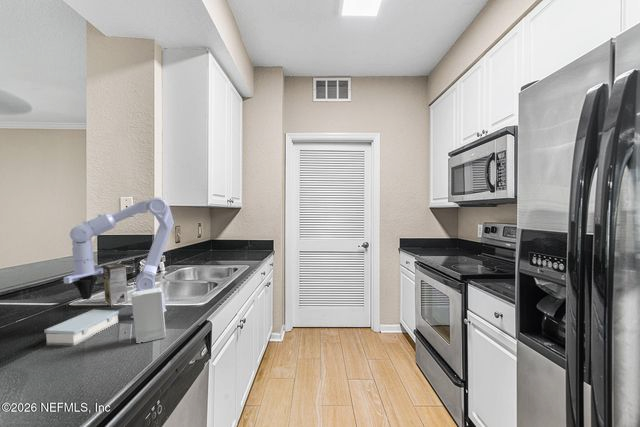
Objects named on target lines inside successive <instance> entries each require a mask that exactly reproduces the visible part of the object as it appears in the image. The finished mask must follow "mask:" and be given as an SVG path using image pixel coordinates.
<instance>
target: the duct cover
mask: <svg viewBox="0 0 640 427" xmlns="http://www.w3.org/2000/svg"><path fill="white" fill-rule="evenodd" d="M116 314H118V315H119V314H120V311H119V310H111V309H109V310H108V309H91V310H89V311H87V312H84V313H81V314H78V315H76V316H74V317H72V318H69V319H67V320H64V321H63V322H62V321H61V322H60V323H57V324H55V325H53V326H49V327H47V328H46V329H44V334H47V333H59V334H76V333H78V332H80V331H82V330H84V329H86V328H89V327H91V326H93V325H95V324H97V323H99V322H101V321H103V320H105V319H107V318H109V317H111V316H114V315H116Z"/></svg>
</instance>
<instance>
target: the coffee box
mask: <svg viewBox="0 0 640 427" xmlns="http://www.w3.org/2000/svg"><path fill="white" fill-rule="evenodd" d="M102 268H103V273H102V276H103V286H104V290H103V291H104V300H105V301H106V302H107V303H109V304H110V305H111V307H113V306H112V305H114V304H118V303H122V302H129V301H128V284H127V268H126V265H124V264H122V263H112V264H110V263H109V264H105V265H104V264H103V265H102ZM106 302H105V303H106ZM107 303H106V304H107ZM109 304H108V305H109ZM110 305H109V306H110Z"/></svg>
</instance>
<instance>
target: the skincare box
mask: <svg viewBox="0 0 640 427" xmlns="http://www.w3.org/2000/svg"><path fill="white" fill-rule="evenodd" d="M162 290H163V289H162V287H161V286H159V287H156V288H152V289H147V290H140V291H136V290H135V291H132V294H131V297H130V298H131V307H132V316H133V317H134V318H133V323H134V333H135V334H134V335H135V341H136V343H139V344H142V343H141V342H143V343H146V342H151V341H156V340H160V339H165V338H166V337H167V336H166V334H167V333H166V332H167V331H166V323H165V312H164V310H163V298H162V292H163V291H162Z"/></svg>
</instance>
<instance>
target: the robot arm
mask: <svg viewBox="0 0 640 427" xmlns="http://www.w3.org/2000/svg"><path fill="white" fill-rule="evenodd" d="M148 211H149V212H150V213H151V214H152V215H153V216H154V217H155V218H156V220H157V221H158V223H159V224H158V228H157V230H156V233H155V236H154V239H153V241H152V245H151V247H150V249H149V251H148V254H147V257H146V259H145V263H144V264H143V267H142V269H141V271H140V272H139V273H138V274H137V275H136V278H135V291H140V290H147V289H152V288H157V287H156V280H155V278H156V276H157V272H158V267H159V265H160V262H161V259H162V256H163V254H164V251H165V248H166V246H167V243H168V241H169V237H170V236H171V233H172V230H173V228H174V225H175V222H174V218H173V215H172V211H171V208H170V205H169V204H168V203H167V201H166V200H165V199H164V198H162V197H158V196H156V197H153V198H150V199H148V200H143V201H139V202H137V203H134V204H132V205H130V206H128V207H126V208H123V209H122V210H120V211H119V210H118V212H115V213H113V214H109V213H104V214H103V213H99V214H97V215H96V216H97V217H94V218H92V219H90V220H88V221H87V220H84V221H83V222H82V224H79V225H76V226H74V227H73V228H71V230H70V232H69V237H70V239H71V240H72V243H71V244H72V249H71V250H72V262H73V272H72V273H71V274H70V275H68V276H64V277H63V284H71V283H72V284H73V285H74V286H75V287H76V289H77V290H78V292H79V294H80V296H81V299H82V300H89V299H91V298H92V293H93V289H94V286H95V283H96V282H97V281H98V276H96V275H101V274H102V275H103V267H98V268H96V267H95V261H94V258H95V257H94V246H93V243H92V242H93V241H92V240H93V239H92V237H97V236H99V235H101V234H104V233H106V232H108V231H110V230H112V229H114V228H115V227H116V224H117V223H118V222H121V221H123V220H127V219H128V218H130V217H133V216H134V215H137V214H147V213H148ZM162 298H163V310H164V313H165V312H167V310H168V309H166V296H165V293H164V291H162ZM130 318H131V319H134V317H133V315H131V316H130Z"/></svg>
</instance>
